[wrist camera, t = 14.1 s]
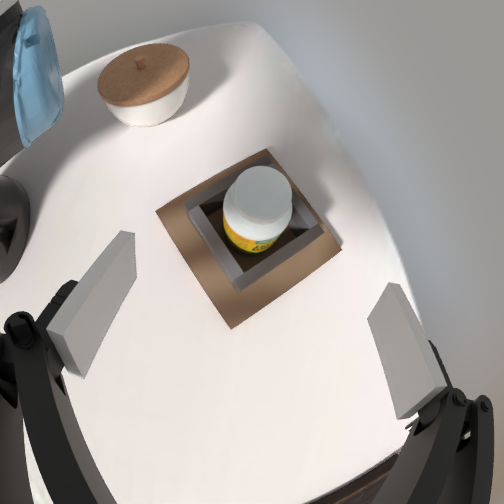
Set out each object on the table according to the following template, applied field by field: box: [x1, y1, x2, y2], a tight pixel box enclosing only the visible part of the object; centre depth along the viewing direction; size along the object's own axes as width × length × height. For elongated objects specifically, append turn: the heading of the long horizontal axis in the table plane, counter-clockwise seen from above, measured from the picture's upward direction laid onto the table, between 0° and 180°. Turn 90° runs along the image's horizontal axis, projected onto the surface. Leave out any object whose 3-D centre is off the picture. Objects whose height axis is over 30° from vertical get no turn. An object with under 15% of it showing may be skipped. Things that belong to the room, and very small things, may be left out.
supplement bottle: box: [223, 166, 292, 256], centre depth 23 cm, size 5×5×10 cm
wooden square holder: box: [156, 149, 342, 329], centre depth 26 cm, size 14×14×5 cm
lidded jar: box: [98, 43, 189, 127], centre depth 26 cm, size 11×11×9 cm
